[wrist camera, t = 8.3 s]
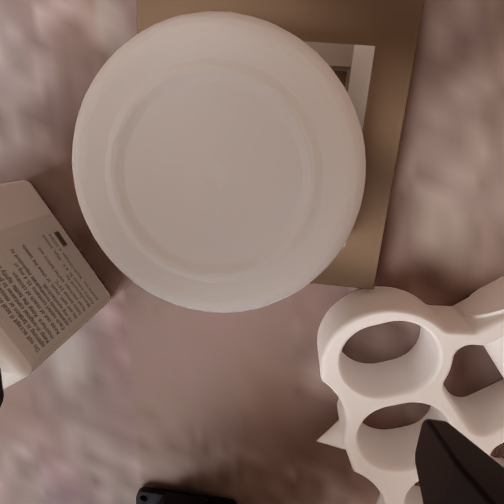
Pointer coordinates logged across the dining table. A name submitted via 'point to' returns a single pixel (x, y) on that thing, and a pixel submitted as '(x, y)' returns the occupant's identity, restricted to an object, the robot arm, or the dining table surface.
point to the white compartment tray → (410, 380)
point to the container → (39, 283)
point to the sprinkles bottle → (218, 161)
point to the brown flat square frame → (356, 84)
